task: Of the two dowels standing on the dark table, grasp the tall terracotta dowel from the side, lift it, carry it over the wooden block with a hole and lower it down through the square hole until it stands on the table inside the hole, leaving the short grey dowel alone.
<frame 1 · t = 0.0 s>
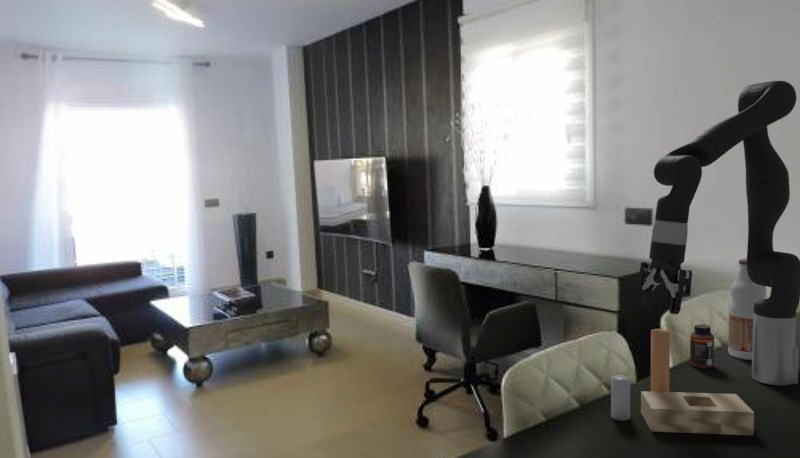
hand: (660, 309, 141), 22 cm above the table, tool pointing down, fingers open, 8 cm apart
supplement bottle: (701, 366, 167), on the table
long dowel: (659, 406, 141), on the table
wooden block with hole: (699, 423, 131), on the table
white plastic bottle: (746, 356, 174), on the table
short dowel: (620, 416, 136), on the table
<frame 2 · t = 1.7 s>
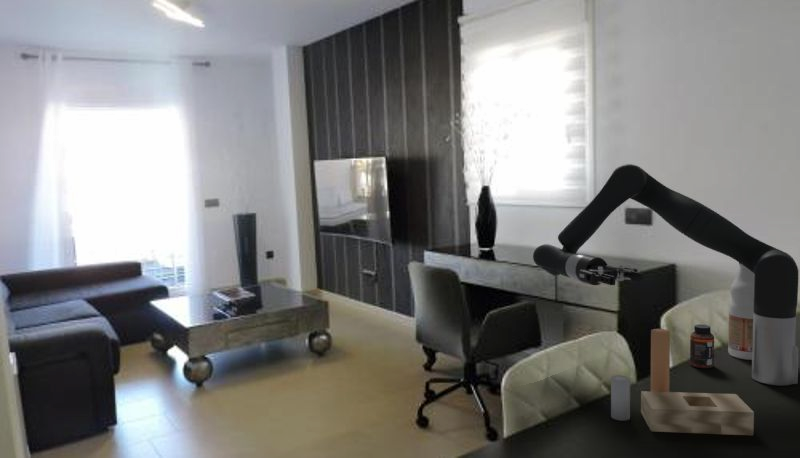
hand: (628, 279, 148), 28 cm above the table, tool horizontal, fingers open, 8 cm apart
nothing on the table moved.
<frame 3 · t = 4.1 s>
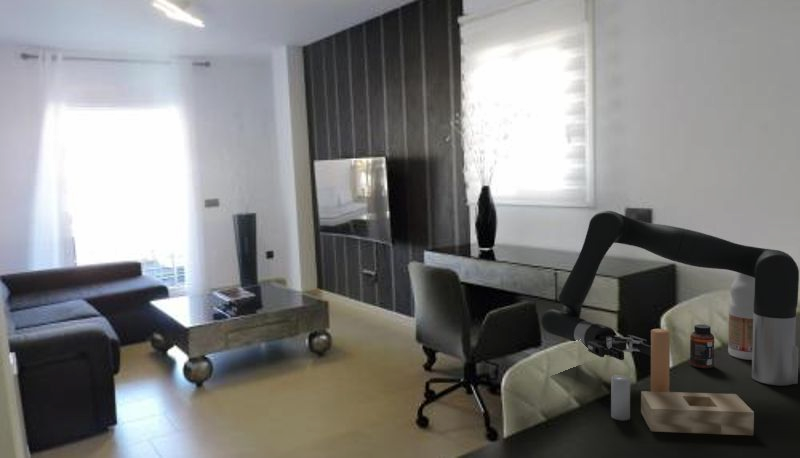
hand: (637, 353, 147), 10 cm above the table, tool horizontal, fingers open, 8 cm apart
nothing on the table moved.
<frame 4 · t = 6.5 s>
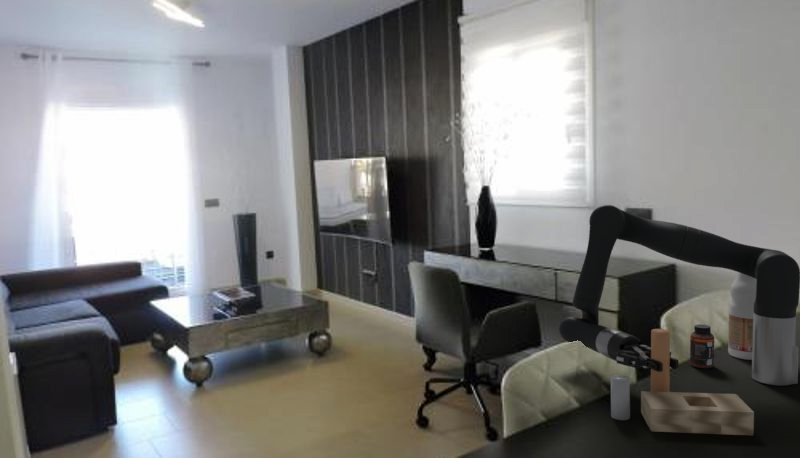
hand: (669, 366, 137), 10 cm above the table, tool horizontal, fingers closed on long dowel, 4 cm apart
long dowel: (659, 406, 141), on the table, touching gripper
everything else where it was.
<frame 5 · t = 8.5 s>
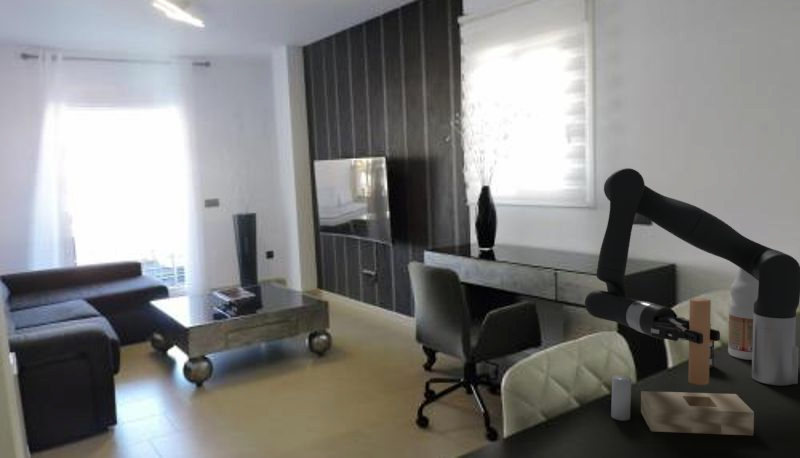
hand: (710, 337, 126), 20 cm above the table, tool horizontal, fingers closed on long dowel, 4 cm apart
long dowel: (698, 381, 130), point 9 cm above the table, touching gripper
everything else where it was.
when the fingers open (11 cm above the table, at t = 10.8 s): long dowel stays where it is, resting in wooden block with hole.
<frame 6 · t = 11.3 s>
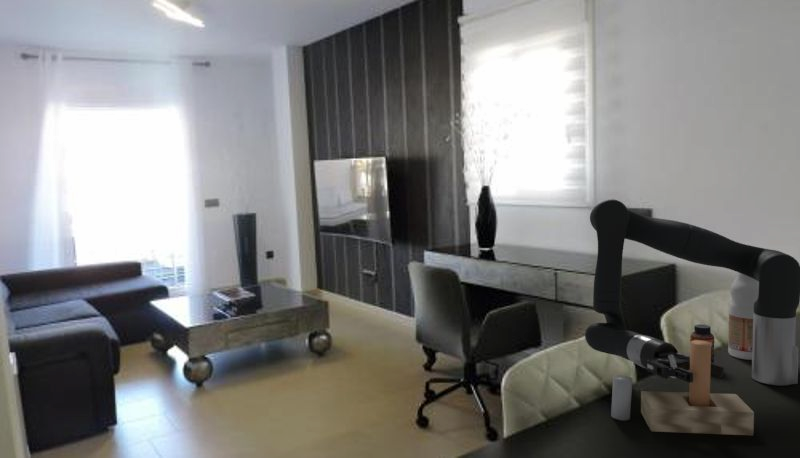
hand: (707, 375, 128), 12 cm above the table, tool horizontal, fingers open, 8 cm apart
long dowel: (698, 423, 131), resting in wooden block with hole
everything else where it was.
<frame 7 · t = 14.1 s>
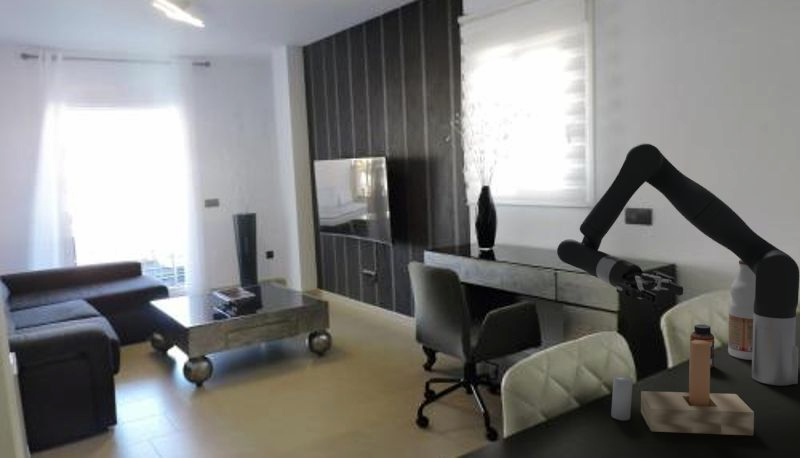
hand: (669, 295, 144), 25 cm above the table, tool horizontal, fingers open, 8 cm apart
nothing on the table moved.
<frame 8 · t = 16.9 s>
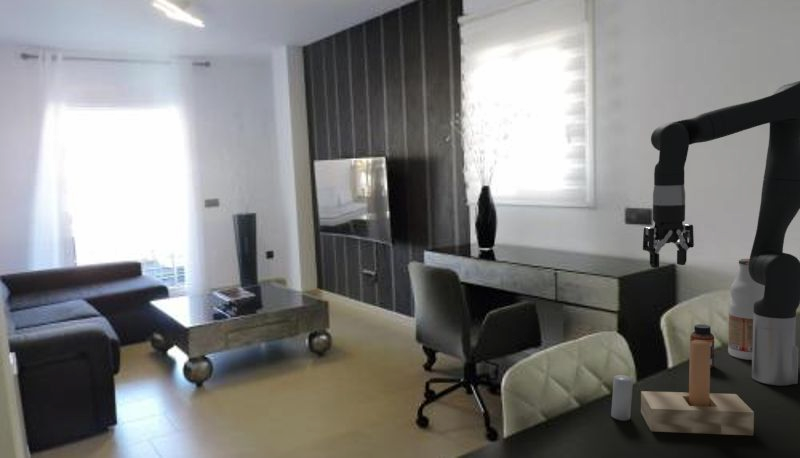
hand: (668, 266, 154), 30 cm above the table, tool pointing down, fingers open, 8 cm apart
nothing on the table moved.
at the end: long dowel 0.1 cm off-centre on the wooden block with hole, point 0.0 cm above the wooden block with hole's base; long dowel tilted 0°; the gripper is holding nothing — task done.
